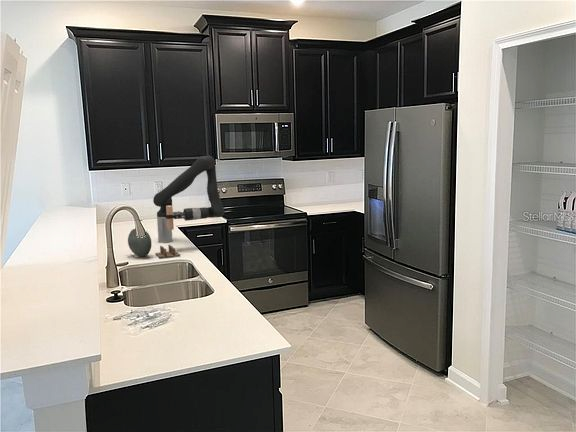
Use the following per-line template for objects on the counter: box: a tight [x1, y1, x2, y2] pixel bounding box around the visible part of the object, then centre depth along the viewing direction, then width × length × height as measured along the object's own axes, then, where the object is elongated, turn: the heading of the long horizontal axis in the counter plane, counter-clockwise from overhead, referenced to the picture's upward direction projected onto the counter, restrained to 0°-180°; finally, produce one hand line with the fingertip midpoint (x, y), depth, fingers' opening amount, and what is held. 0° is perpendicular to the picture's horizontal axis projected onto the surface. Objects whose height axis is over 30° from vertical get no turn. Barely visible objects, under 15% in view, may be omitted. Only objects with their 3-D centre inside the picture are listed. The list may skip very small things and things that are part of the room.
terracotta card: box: [166, 205, 175, 231], centre depth 294 cm, size 6×2×14 cm, turn 27°
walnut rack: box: [154, 244, 181, 260], centre depth 286 cm, size 12×12×5 cm
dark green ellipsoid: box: [127, 219, 152, 258], centre depth 283 cm, size 12×17×22 cm
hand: (165, 216), depth 293 cm, fingers closed on terracotta card, 6 cm apart
